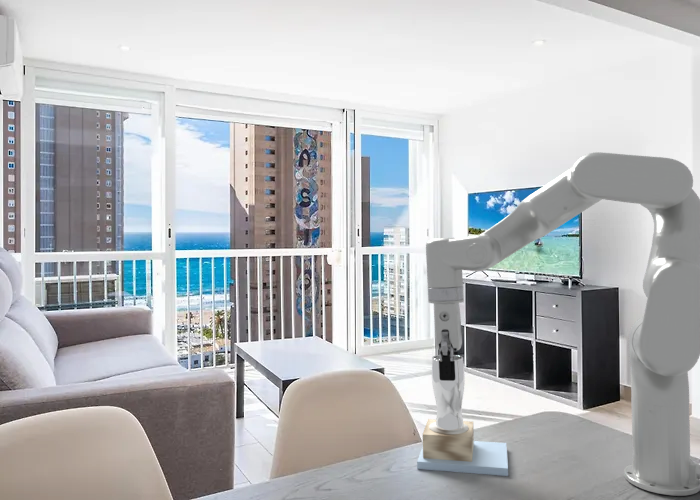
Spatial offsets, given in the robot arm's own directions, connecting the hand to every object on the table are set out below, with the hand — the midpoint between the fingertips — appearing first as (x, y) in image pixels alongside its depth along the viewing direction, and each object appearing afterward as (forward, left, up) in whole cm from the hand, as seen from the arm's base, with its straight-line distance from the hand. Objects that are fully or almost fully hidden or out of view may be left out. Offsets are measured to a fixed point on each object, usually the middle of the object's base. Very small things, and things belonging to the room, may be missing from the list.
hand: (449, 374), depth 116 cm
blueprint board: (-3, 0, -18) cm, 18 cm away
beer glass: (0, 0, -12) cm, 12 cm away
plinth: (0, 0, -17) cm, 17 cm away
